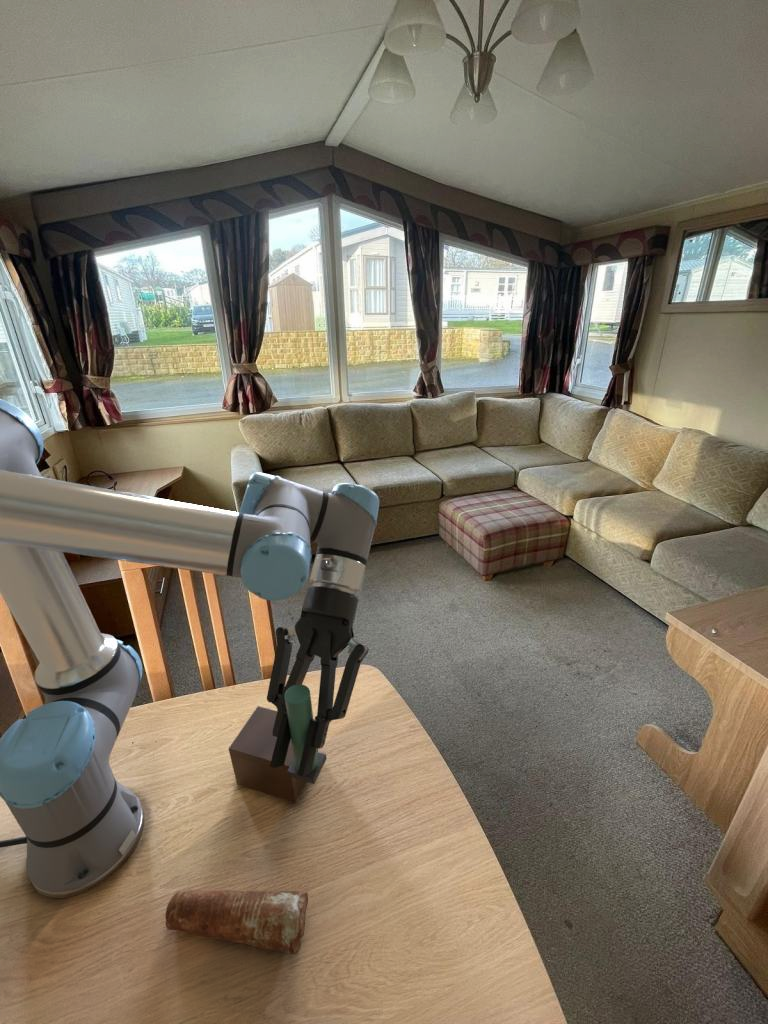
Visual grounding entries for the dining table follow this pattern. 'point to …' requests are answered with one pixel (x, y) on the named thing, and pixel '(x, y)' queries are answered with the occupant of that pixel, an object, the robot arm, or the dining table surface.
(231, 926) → the brown cylinder
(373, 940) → the dining table surface
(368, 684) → the dining table surface
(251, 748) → the dark brown wooden cube
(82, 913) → the dining table surface
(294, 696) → the green handled tool
